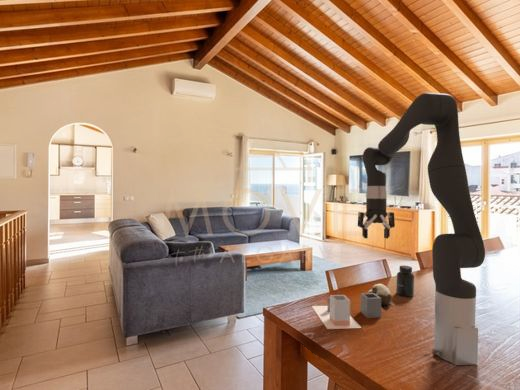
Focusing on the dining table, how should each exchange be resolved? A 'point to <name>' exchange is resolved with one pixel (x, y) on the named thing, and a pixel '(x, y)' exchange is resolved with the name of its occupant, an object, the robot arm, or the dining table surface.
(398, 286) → the supplement bottle
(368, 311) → the charcoal sleeve
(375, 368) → the dining table surface
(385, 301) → the skull
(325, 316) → the pin board
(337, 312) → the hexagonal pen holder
